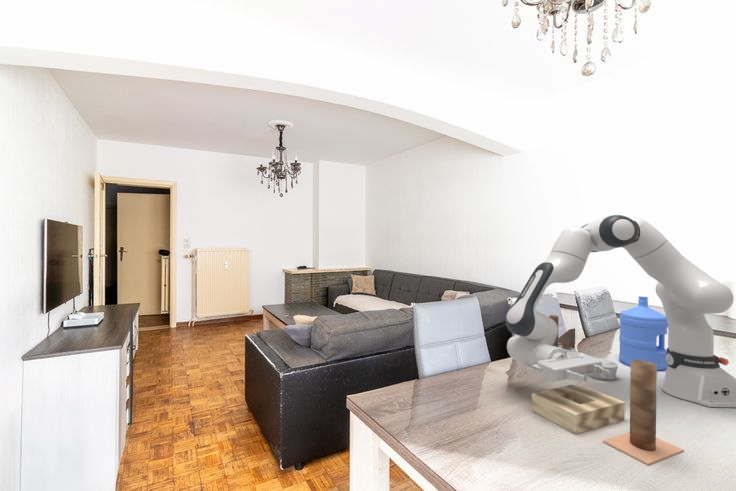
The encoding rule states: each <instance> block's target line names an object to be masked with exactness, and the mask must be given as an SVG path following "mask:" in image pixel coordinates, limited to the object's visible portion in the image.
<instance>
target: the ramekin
mask: <svg viewBox="0 0 736 491" xmlns="http://www.w3.org/2000/svg"><path fill="white" fill-rule="evenodd" d="M596 358H597V359H599V360H600V361H601V362H602V368H603V369H605V370H608V371H609V372H610V376H609V377H602V376H600V374H598V373H597V374H591V375H587V376H588V377H590V378H593V379H597V380H602V381H612V380H614V379H615V378H616V374H617V370H618V367H619V365H618V364H617V362H614V361H612V360H610V359H605V358H601V357H596Z"/></svg>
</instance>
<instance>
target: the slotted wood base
mask: <svg viewBox="0 0 736 491" xmlns="http://www.w3.org/2000/svg"><path fill="white" fill-rule="evenodd" d="M625 404H626V402H625V401H624V400H621V399H618V398H616V397H613V396H611V395H607V394H606V393H603V392H600V391H598V390H595V389H593V388H591V387H588V386H586V385H583V384H580V383H575V384H571V385H570V384H569V385H565V386H560V387H556V388H555V387H554V388H552V389H547V390H542V391H537V392H532V393H531V411H532V412H534V413H535V412H536V414H538V415H539V416H541V417H543V418H545V419H547V420H548V421H551V422H552V423H554V424H556V425H557V426H560V428H561V427H562V428H564V429H565V430H566V431H569V432H571V433H573V434H575V435H578V434H581V433H584V432H588V431H591V430H594V429H595V430H596V429H598V428H602V427H605V426H608V425H613V424H615V423H618V422H622V421H625V418H626V416H625V414H626V413H625V412H626V406H625Z"/></svg>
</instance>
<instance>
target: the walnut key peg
mask: <svg viewBox="0 0 736 491" xmlns="http://www.w3.org/2000/svg"><path fill="white" fill-rule="evenodd" d="M657 375H658V370H657V365H656V364H654V363H652V362H648V361H643V360H631V366H630V383H629V384H630V388H629V390H630V392H629V394H630V395H629V396H630V399H629V400H630V401H629V432H630V443H631V444H632V445H633V446H635V447H637V448H639V449H642V450H646V451H654V450H656V438H657V385H658V384H657V383H658V382H657V380H658V379H657V377H658V376H657Z"/></svg>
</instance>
